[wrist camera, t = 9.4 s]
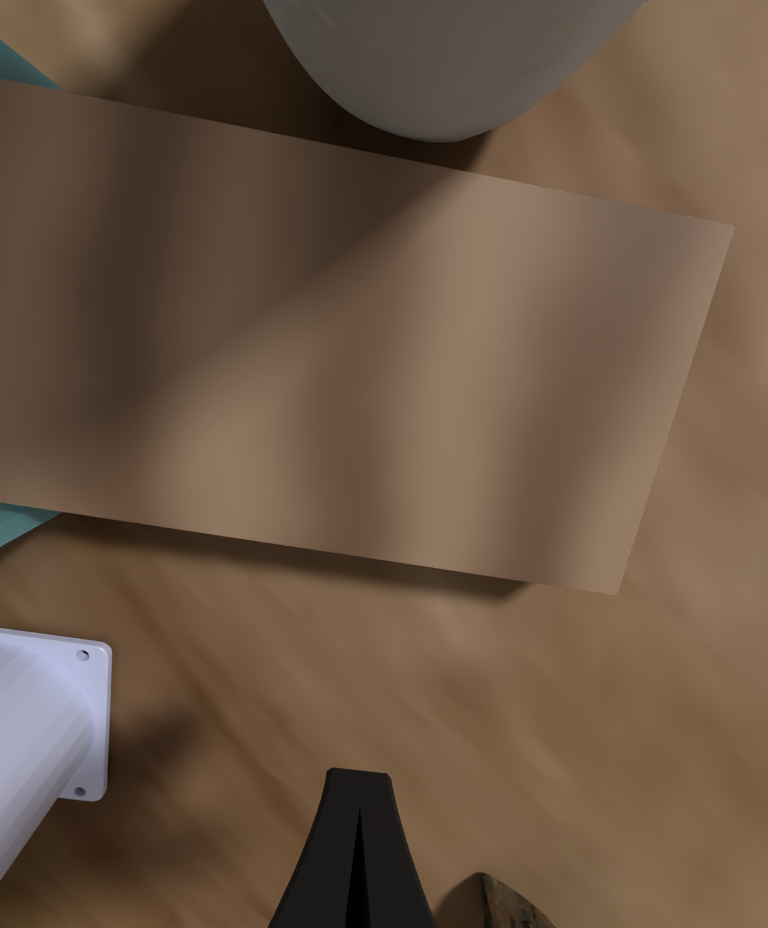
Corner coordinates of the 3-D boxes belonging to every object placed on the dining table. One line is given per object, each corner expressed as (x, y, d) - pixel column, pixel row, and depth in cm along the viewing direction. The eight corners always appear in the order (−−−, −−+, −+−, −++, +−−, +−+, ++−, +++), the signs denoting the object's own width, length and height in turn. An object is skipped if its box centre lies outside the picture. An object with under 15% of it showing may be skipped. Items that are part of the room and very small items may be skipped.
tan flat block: (68, 472, 18) (-1, 502, 15) (72, 133, 16) (-11, 76, 12) (575, 550, 20) (616, 595, 16) (662, 248, 17) (735, 225, 13)
